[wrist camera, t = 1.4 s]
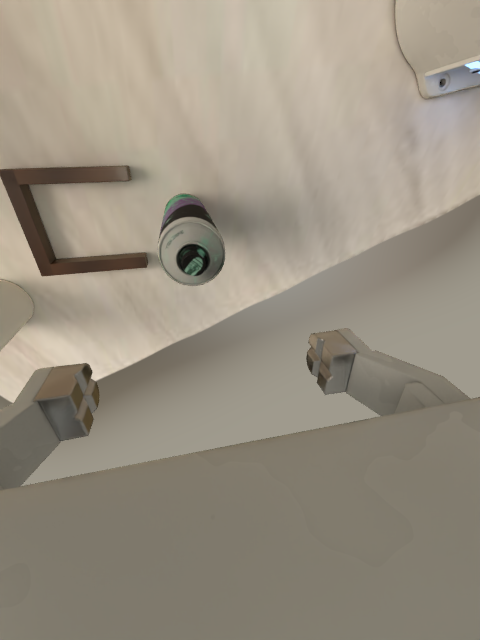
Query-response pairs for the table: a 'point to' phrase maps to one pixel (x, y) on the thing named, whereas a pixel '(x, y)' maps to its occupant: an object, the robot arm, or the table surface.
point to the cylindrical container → (13, 310)
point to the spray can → (190, 242)
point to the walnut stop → (35, 231)
